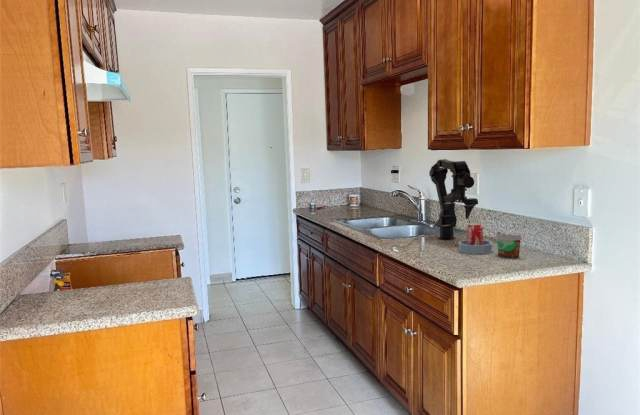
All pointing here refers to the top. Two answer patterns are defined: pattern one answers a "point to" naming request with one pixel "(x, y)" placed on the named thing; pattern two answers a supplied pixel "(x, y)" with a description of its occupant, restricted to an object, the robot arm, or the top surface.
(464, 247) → the bowl
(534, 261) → the top surface
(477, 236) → the soda can
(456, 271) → the top surface
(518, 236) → the food container
